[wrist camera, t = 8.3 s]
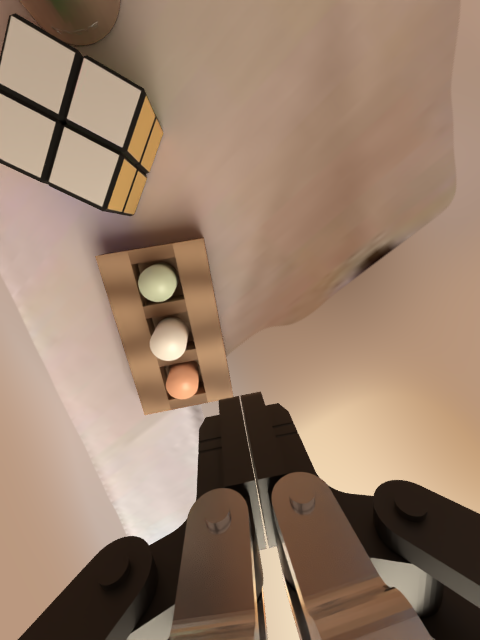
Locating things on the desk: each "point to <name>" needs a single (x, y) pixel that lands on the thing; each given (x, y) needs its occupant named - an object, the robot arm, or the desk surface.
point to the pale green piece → (158, 282)
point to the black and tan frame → (73, 121)
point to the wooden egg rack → (185, 303)
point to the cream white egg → (169, 339)
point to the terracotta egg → (183, 380)
